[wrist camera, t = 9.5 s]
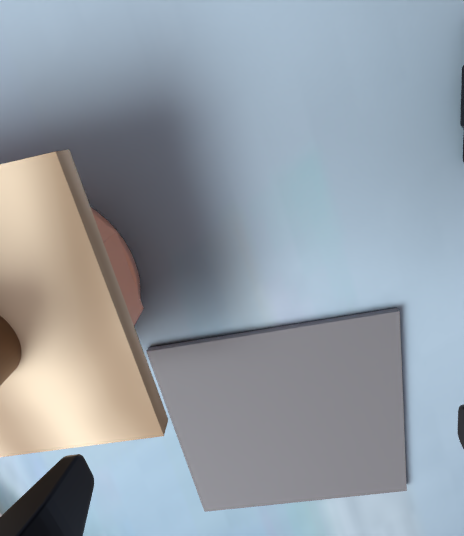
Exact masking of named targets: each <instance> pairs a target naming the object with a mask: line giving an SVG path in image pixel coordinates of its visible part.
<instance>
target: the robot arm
mask: <svg viewBox="0 0 464 536" xmlns="http://www.w3.org/2000/svg"><path fill="white" fill-rule="evenodd" d="M461 126H462V127H463V128H464V65H463V67H462V90H461ZM463 162H464V137H463ZM458 436H459V440H460V442H461V445H462V447H463V449H464V405H461V406H460V407H459V410H458ZM93 487H94V478H93V474H92V473H91V471H90V469H89V467H88V465H87V463H86V461H85V459H84V457H83V456H82V455H80V454H77V455H69V456H65V457H63V458H62V459H61V460H60V461H59V462H58V463H57V464H56V465H55V466H54V467H52V468H51V469H50V470H49V471H48V472H47V473H46V474H45V475H44V476H43V477H42V478H41V479H40V480H39V481H38V482H37V483H36V484H35V485H34V486H33V487H31V488H30V489H29V490H28V491H27V492H26V493H25V494H24V495H23V496H22V497H21V498H20V499H19V500H18V501H17V502H16V503H15V504H14V505H13V506H12V507H10V508H9V509H8V510H7V511H6V512H5V513H4V514H3V515H2V516H1V517H0V536H83V532H84V528H85V523H86V519H87V514H88V510H89V505H90V501H91V496H92V492H93Z"/></svg>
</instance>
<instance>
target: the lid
mask: <svg viewBox="0 0 464 536" xmlns="http://www.w3.org/2000/svg"><path fill="white" fill-rule="evenodd" d="M167 422H168V418H167V415H166V412H165V410H164V407H163V404H162V401H161V399H160V396H159V393H158V390H157V388H156V385H155V382H154V380H153V377H152V374H151V371H150V369H149V366H148V363H147V360H146V358H145V355H144V352H143V349H142V347H141V344H140V341H139V339H138V336H137V333H136V330H135V328H134V325H133V322H132V319H131V317H130V314H129V311H128V308H127V306H126V303H125V300H124V298H123V295H122V292H121V289H120V287H119V284H118V281H117V278H116V276H115V273H114V270H113V267H112V265H111V262H110V259H109V257H108V254H107V251H106V248H105V246H104V243H103V240H102V237H101V235H100V232H99V229H98V227H97V224H96V221H95V218H94V216H93V213H92V210H91V207H90V205H89V202H88V199H87V196H86V194H85V191H84V188H83V186H82V183H81V180H80V177H79V175H78V172H77V169H76V166H75V164H74V161H73V158H72V155H71V153H70V150H69V149H68V150H62V151H55V152H51V153H47V154H43V155H38V156H34V157H30V158H25V159H21V160H17V161H13V162H8V163H4V164H0V457H5V456H13V455H21V454H28V453H36V452H44V451H52V450H59V449H67V448H75V447H82V446H90V445H98V444H106V443H113V442H121V441H129V440H137V439H144V438H152V437H160V436H164V433H165V429H166V426H167Z"/></svg>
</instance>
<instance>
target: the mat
mask: <svg viewBox="0 0 464 536" xmlns="http://www.w3.org/2000/svg"><path fill="white" fill-rule="evenodd" d="M147 354H148V357H149V360H150V363H151V365H152V368H153V371H154V374H155V376H156V379H157V382H158V385H159V387H160V390H161V393H162V396H163V398H164V401H165V404H166V407H167V409H168V412H169V415H170V418H171V420H172V423H173V426H174V429H175V431H176V434H177V437H178V440H179V442H180V445H181V448H182V451H183V453H184V456H185V459H186V462H187V464H188V467H189V470H190V473H191V475H192V478H193V481H194V484H195V486H196V489H197V492H198V495H199V497H200V500H201V503H202V506H203V508H204V511H205V512H206V511H216V510H225V509H235V508H245V507H254V506H264V505H273V504H283V503H293V502H302V501H312V500H322V499H331V498H341V497H351V496H360V495H370V494H380V493H389V492H399V491H407V487H406V461H405V436H404V410H403V384H402V359H401V333H400V311H399V310H398V309H397V308H392V309H386V310H380V311H374V312H368V313H361V314H355V315H349V316H343V317H337V318H330V319H324V320H318V321H312V322H306V323H299V324H293V325H287V326H281V327H274V328H268V329H262V330H256V331H250V332H243V333H237V334H231V335H225V336H219V337H212V338H206V339H200V340H194V341H188V342H181V343H175V344H169V345H163V346H157V347H150V348H148V349H147Z"/></svg>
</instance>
